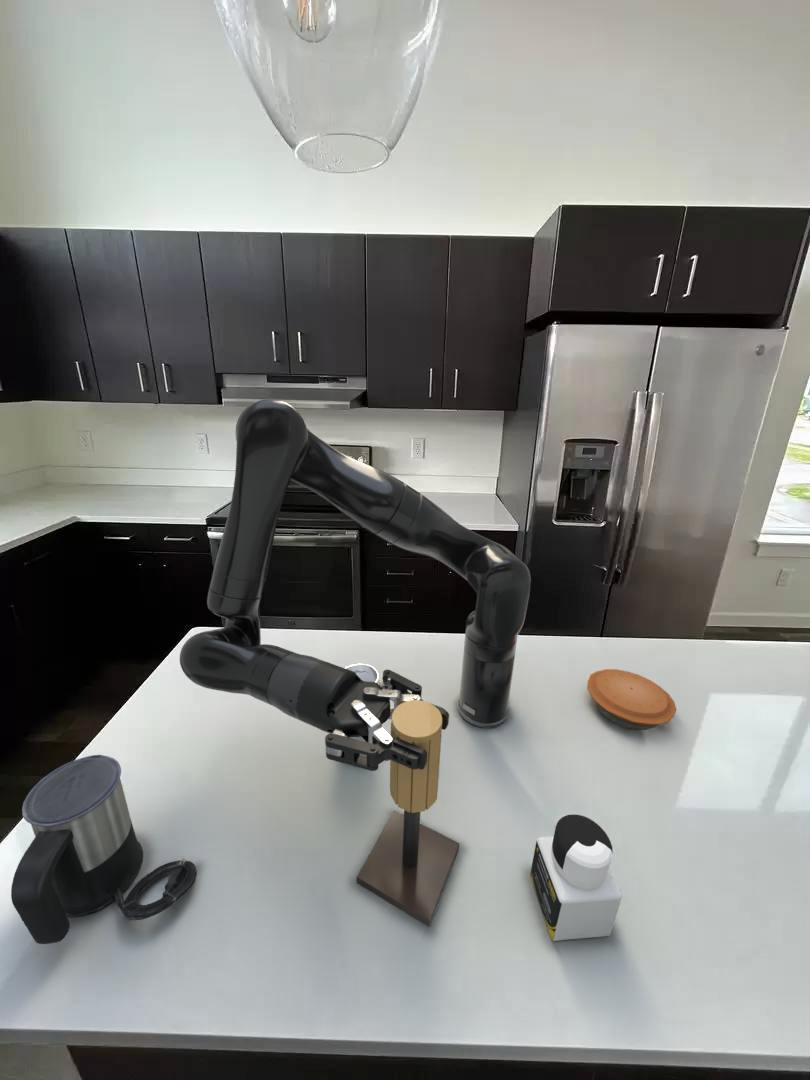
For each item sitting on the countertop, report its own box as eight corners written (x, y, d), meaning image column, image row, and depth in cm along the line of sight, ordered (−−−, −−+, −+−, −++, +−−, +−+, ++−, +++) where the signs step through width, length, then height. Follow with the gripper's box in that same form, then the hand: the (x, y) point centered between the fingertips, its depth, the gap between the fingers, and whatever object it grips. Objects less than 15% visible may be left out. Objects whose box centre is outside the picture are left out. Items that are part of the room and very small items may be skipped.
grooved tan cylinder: (403, 763, 54) (405, 693, 51) (445, 782, 52) (450, 710, 48) (381, 799, 50) (381, 725, 46) (426, 821, 47) (430, 745, 44)
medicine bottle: (528, 874, 55) (541, 807, 51) (581, 870, 55) (598, 803, 51) (551, 942, 48) (568, 871, 44) (611, 937, 49) (633, 866, 45)
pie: (649, 686, 90) (655, 666, 89) (687, 743, 76) (695, 721, 74) (575, 680, 92) (578, 660, 90) (598, 735, 77) (603, 713, 76)
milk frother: (67, 852, 56) (37, 767, 51) (200, 810, 62) (184, 730, 57) (28, 985, 44) (-18, 890, 39) (197, 916, 50) (177, 826, 45)
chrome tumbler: (373, 769, 69) (373, 694, 64) (333, 761, 70) (330, 686, 65) (384, 736, 76) (385, 666, 70) (346, 729, 77) (345, 660, 72)
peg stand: (394, 816, 62) (395, 741, 57) (459, 849, 58) (467, 771, 53) (356, 883, 53) (354, 802, 49) (429, 927, 49) (435, 843, 44)
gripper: (270, 701, 46) (409, 762, 39) (345, 637, 59) (461, 674, 51) (276, 754, 49) (407, 819, 42) (346, 682, 61) (457, 723, 54)
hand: (436, 739), depth 47 cm, fingers closed on grooved tan cylinder, 5 cm apart
